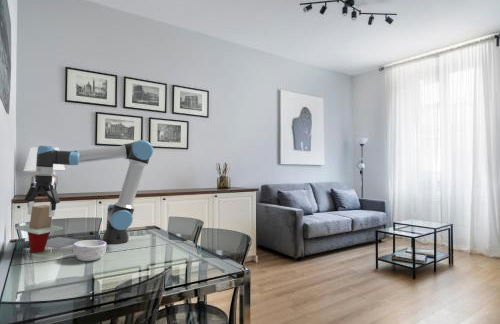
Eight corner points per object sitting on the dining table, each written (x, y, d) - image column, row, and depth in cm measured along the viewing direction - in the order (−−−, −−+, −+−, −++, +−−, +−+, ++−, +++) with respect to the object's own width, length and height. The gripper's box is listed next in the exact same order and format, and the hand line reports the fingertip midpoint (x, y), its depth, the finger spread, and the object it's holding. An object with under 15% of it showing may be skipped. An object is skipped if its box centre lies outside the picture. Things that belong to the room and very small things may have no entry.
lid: (63, 229, 168) (66, 207, 168) (38, 234, 153) (42, 210, 153) (41, 224, 171) (44, 202, 171) (14, 228, 157) (18, 205, 157)
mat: (85, 241, 188) (85, 240, 188) (58, 249, 168) (58, 248, 168) (58, 237, 192) (58, 236, 193) (29, 244, 173) (29, 244, 173)
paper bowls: (112, 257, 161) (113, 241, 162) (88, 265, 147) (89, 248, 147) (89, 252, 166) (90, 237, 167) (64, 259, 152) (65, 243, 152)
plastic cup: (37, 255, 155) (39, 232, 156) (19, 253, 158) (21, 229, 158) (55, 250, 166) (56, 228, 166) (38, 248, 168) (40, 226, 168)
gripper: (18, 173, 162) (15, 213, 161) (57, 176, 156) (54, 218, 156) (31, 173, 169) (28, 212, 169) (69, 176, 163) (66, 216, 163)
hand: (40, 215), depth 162 cm, fingers open, 13 cm apart
